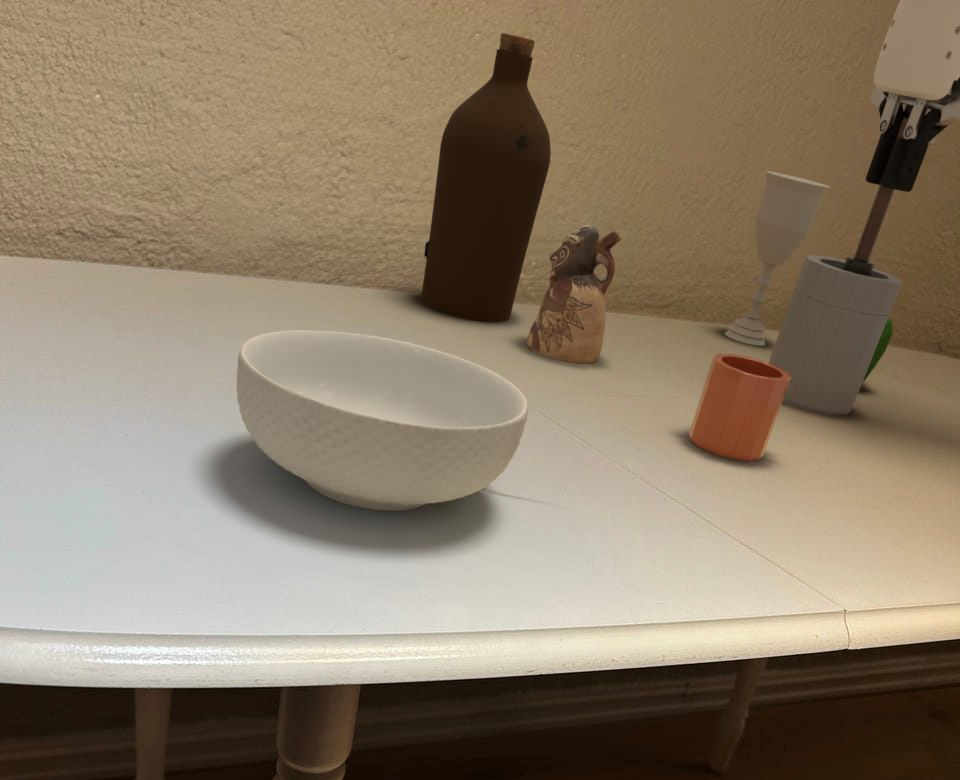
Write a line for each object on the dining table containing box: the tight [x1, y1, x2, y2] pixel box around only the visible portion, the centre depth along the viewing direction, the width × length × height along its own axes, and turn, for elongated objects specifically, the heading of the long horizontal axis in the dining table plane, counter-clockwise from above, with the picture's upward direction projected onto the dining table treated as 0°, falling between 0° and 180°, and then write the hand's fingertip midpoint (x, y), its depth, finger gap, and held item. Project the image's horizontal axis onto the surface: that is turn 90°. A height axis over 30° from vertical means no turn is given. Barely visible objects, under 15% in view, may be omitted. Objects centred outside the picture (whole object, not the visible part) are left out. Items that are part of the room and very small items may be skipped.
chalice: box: [724, 170, 831, 347], centre depth 119 cm, size 7×7×18 cm
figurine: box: [526, 224, 622, 364], centre depth 97 cm, size 7×7×12 cm
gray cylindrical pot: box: [767, 254, 903, 415], centre depth 101 cm, size 9×9×13 cm
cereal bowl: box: [236, 329, 529, 512], centre depth 62 cm, size 17×17×7 cm
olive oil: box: [420, 32, 552, 323], centre depth 102 cm, size 11×11×25 cm
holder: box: [688, 353, 791, 462], centre depth 82 cm, size 6×6×7 cm
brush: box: [842, 117, 909, 277], centre depth 95 cm, size 3×3×17 cm
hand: (888, 185), depth 94 cm, fingers closed on brush, 1 cm apart
